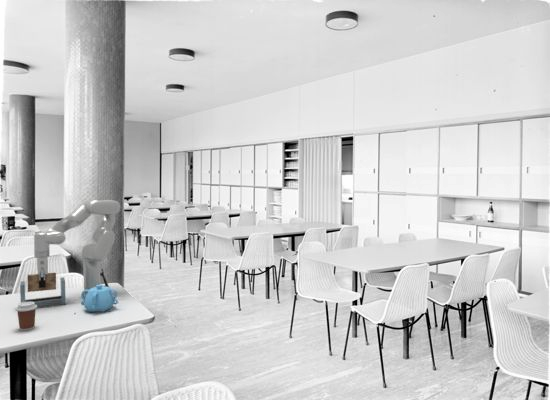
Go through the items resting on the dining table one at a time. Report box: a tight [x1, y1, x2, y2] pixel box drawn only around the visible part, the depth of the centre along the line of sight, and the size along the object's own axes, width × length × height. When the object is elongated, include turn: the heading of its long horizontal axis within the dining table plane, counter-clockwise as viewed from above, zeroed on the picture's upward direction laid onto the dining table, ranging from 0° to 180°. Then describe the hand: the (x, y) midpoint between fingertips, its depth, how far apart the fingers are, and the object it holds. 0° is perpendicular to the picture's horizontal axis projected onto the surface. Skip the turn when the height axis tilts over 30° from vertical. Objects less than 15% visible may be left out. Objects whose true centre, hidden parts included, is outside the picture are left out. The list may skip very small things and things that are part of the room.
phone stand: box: [100, 268, 110, 288], centre depth 290 cm, size 9×6×12 cm, turn 113°
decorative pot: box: [80, 284, 119, 313], centre depth 244 cm, size 16×16×14 cm
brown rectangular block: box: [27, 272, 57, 293], centre depth 250 cm, size 14×3×9 cm, turn 118°
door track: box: [19, 277, 67, 310], centre depth 251 cm, size 22×9×14 cm, turn 118°
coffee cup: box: [15, 302, 38, 331], centre depth 214 cm, size 9×9×12 cm
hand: (42, 286), depth 250 cm, fingers closed on brown rectangular block, 3 cm apart
